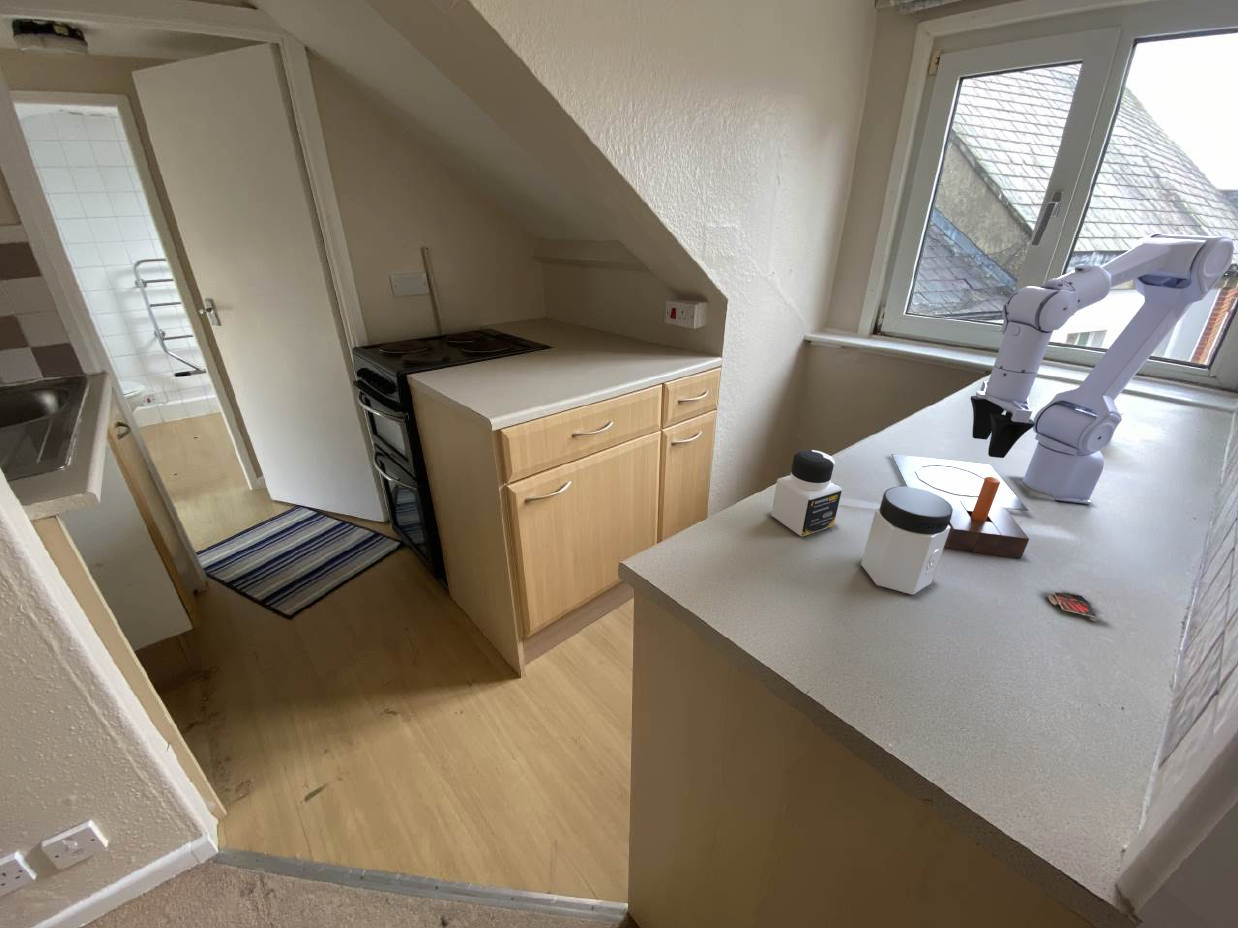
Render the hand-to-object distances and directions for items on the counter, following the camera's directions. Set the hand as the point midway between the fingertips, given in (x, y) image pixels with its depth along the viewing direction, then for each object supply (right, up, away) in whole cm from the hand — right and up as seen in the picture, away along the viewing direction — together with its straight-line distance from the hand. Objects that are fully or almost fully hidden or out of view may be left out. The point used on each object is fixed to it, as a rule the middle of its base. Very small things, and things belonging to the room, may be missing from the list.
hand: (987, 447), depth 89 cm
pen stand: (-6, -14, -5) cm, 16 cm away
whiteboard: (0, -7, +10) cm, 12 cm away
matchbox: (-3, -21, -20) cm, 29 cm away
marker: (-6, -14, -5) cm, 16 cm away
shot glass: (+46, +3, +31) cm, 56 cm away
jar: (-23, -19, -14) cm, 33 cm away
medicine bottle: (-32, -12, -2) cm, 34 cm away
